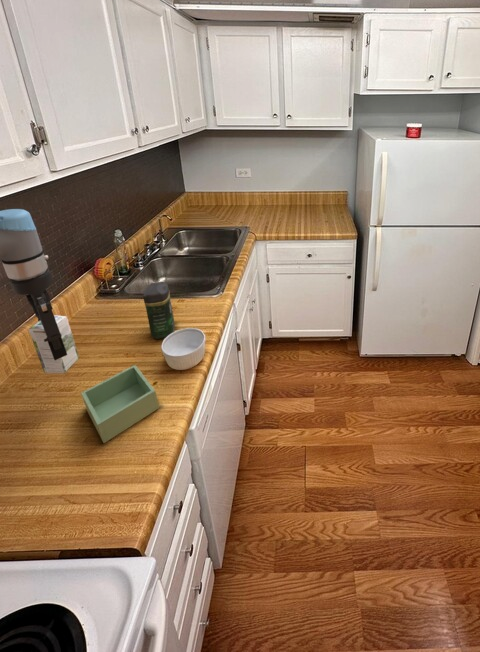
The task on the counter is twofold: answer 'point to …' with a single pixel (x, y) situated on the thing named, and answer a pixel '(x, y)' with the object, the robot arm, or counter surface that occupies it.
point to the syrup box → (45, 352)
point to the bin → (120, 402)
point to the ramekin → (184, 348)
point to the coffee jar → (159, 310)
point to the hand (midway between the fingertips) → (56, 349)
